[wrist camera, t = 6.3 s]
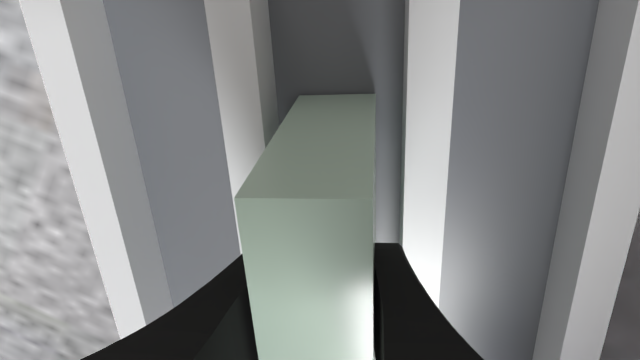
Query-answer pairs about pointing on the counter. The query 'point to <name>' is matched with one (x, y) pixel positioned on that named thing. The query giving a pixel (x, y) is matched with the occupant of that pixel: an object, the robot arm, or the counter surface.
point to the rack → (391, 144)
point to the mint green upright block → (313, 232)
